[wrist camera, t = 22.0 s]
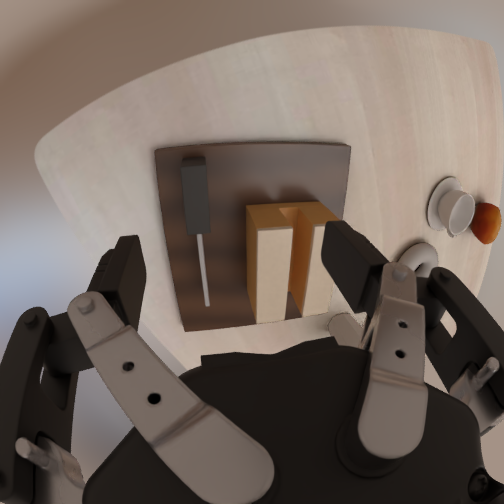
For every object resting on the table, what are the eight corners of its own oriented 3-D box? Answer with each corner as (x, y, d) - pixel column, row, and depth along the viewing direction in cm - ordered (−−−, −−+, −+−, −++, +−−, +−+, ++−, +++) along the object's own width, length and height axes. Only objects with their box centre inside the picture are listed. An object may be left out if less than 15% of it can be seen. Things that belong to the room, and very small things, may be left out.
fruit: (470, 201, 37) (505, 216, 32) (473, 192, 41) (504, 205, 36) (460, 239, 41) (493, 255, 36) (465, 227, 46) (494, 240, 40)
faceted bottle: (350, 330, 49) (402, 425, 31) (320, 337, 48) (368, 440, 30) (358, 306, 46) (421, 406, 27) (326, 312, 45) (384, 423, 26)
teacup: (428, 180, 35) (448, 191, 31) (463, 173, 36) (482, 182, 32) (423, 235, 40) (439, 249, 37) (457, 222, 41) (473, 234, 37)
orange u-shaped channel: (245, 205, 31) (257, 231, 25) (320, 201, 32) (345, 224, 27) (246, 289, 37) (256, 324, 31) (309, 281, 38) (327, 312, 33)
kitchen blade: (182, 158, 27) (179, 166, 23) (205, 156, 27) (206, 164, 24) (197, 289, 35) (198, 310, 32) (215, 287, 36) (218, 308, 32)
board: (156, 148, 27) (154, 151, 26) (345, 143, 30) (351, 146, 29) (184, 325, 40) (184, 332, 39) (321, 307, 44) (324, 313, 43)
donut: (397, 242, 40) (384, 291, 45) (409, 252, 37) (394, 302, 42) (436, 236, 42) (422, 281, 47) (448, 245, 39) (432, 291, 44)
